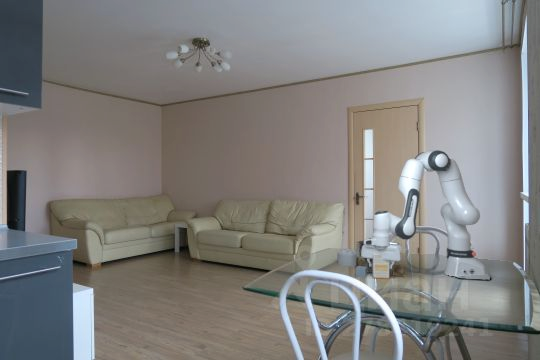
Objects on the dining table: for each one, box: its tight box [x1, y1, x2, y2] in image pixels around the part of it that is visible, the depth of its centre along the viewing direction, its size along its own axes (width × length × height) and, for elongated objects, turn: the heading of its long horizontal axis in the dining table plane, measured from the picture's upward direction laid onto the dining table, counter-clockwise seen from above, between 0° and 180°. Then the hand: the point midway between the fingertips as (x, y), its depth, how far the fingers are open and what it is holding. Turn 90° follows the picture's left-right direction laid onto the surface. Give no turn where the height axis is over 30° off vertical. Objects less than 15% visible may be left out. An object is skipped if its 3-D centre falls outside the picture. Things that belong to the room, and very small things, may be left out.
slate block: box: [355, 266, 368, 279], centre depth 203 cm, size 5×5×5 cm
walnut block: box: [392, 264, 405, 278], centre depth 206 cm, size 5×5×5 cm
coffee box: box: [355, 240, 372, 273], centre depth 216 cm, size 9×6×16 cm
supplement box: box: [371, 254, 390, 280], centre depth 201 cm, size 8×5×13 cm, turn 82°
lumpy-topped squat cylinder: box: [337, 248, 356, 267], centre depth 230 cm, size 10×13×9 cm
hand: (380, 267), depth 200 cm, fingers closed on supplement box, 8 cm apart
